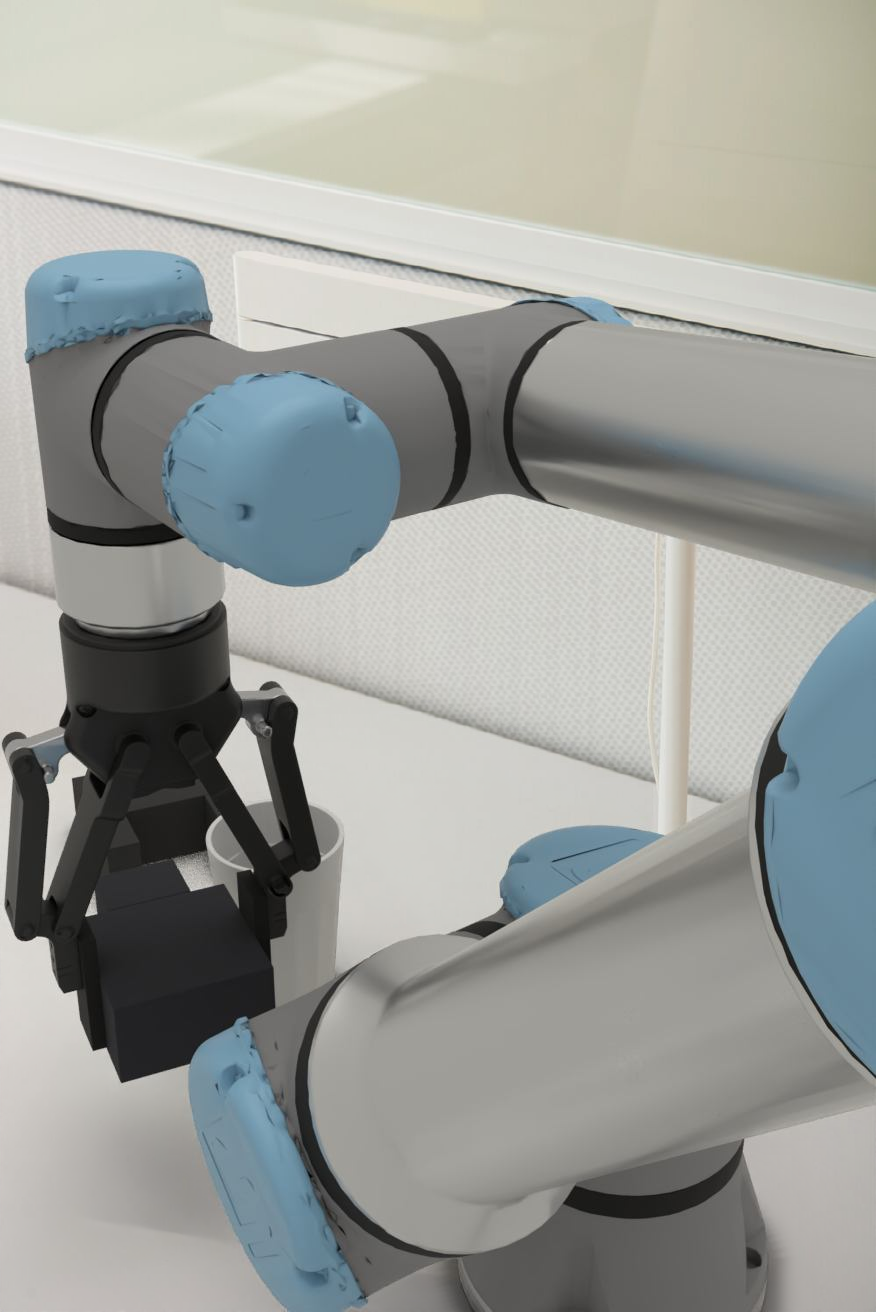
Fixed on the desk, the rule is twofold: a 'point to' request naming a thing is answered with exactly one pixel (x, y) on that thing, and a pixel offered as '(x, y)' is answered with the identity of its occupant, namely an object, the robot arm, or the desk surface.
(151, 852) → the notch pad
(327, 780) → the desk surface
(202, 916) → the tab pad
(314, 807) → the cup
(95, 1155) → the desk surface
